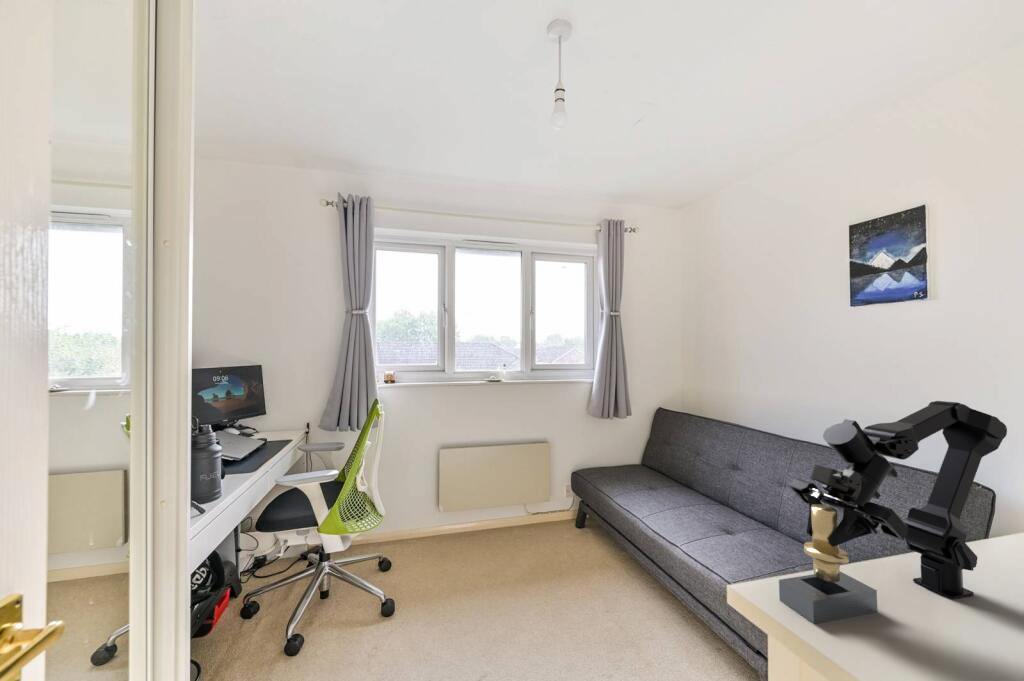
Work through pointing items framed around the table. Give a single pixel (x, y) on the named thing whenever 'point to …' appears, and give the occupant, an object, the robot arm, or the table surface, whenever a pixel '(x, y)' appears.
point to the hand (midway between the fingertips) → (819, 539)
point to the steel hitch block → (827, 597)
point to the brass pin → (825, 544)
